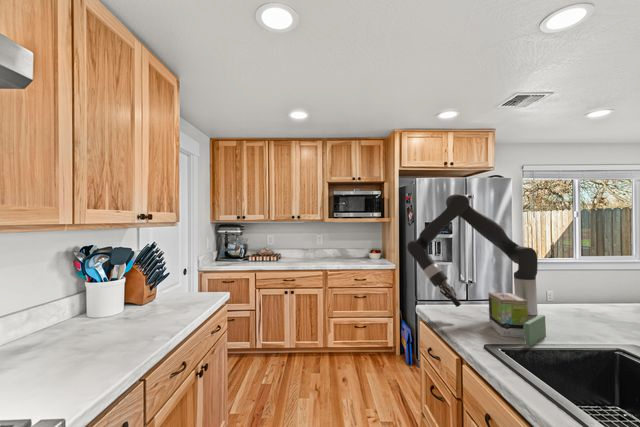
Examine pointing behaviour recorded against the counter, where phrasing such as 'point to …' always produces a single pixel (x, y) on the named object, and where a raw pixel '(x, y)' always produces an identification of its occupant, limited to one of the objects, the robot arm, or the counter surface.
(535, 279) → the robot arm
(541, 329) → the bracket
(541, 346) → the counter surface
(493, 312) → the tea box
